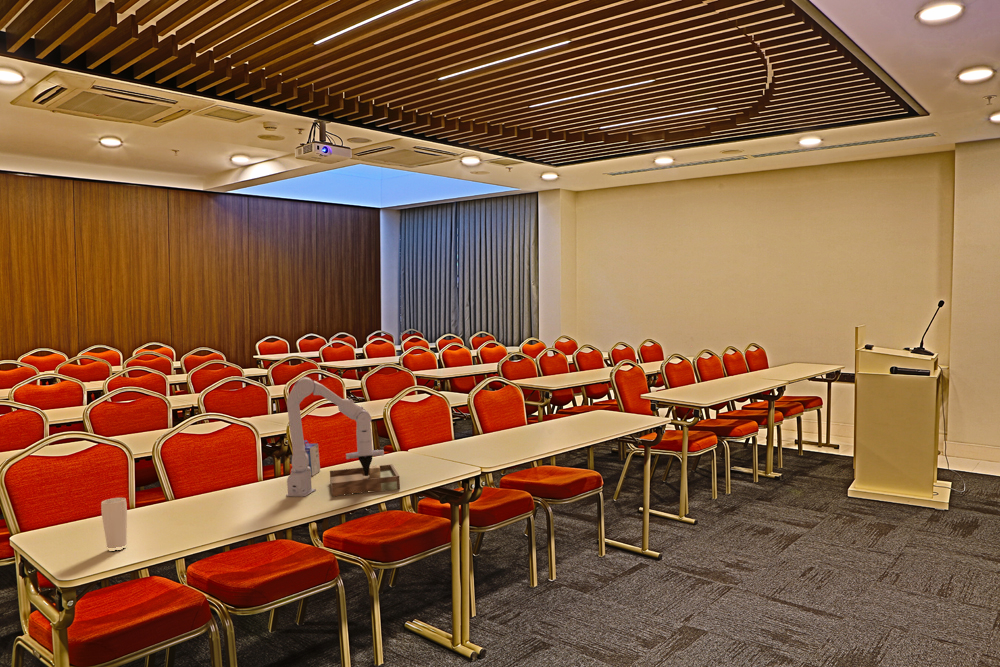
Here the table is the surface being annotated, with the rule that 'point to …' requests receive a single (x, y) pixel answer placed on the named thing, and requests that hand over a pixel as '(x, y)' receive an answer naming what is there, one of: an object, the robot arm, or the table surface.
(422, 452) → the table surface
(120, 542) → the drinking glass
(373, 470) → the block
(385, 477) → the box
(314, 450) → the ink cartridge box
